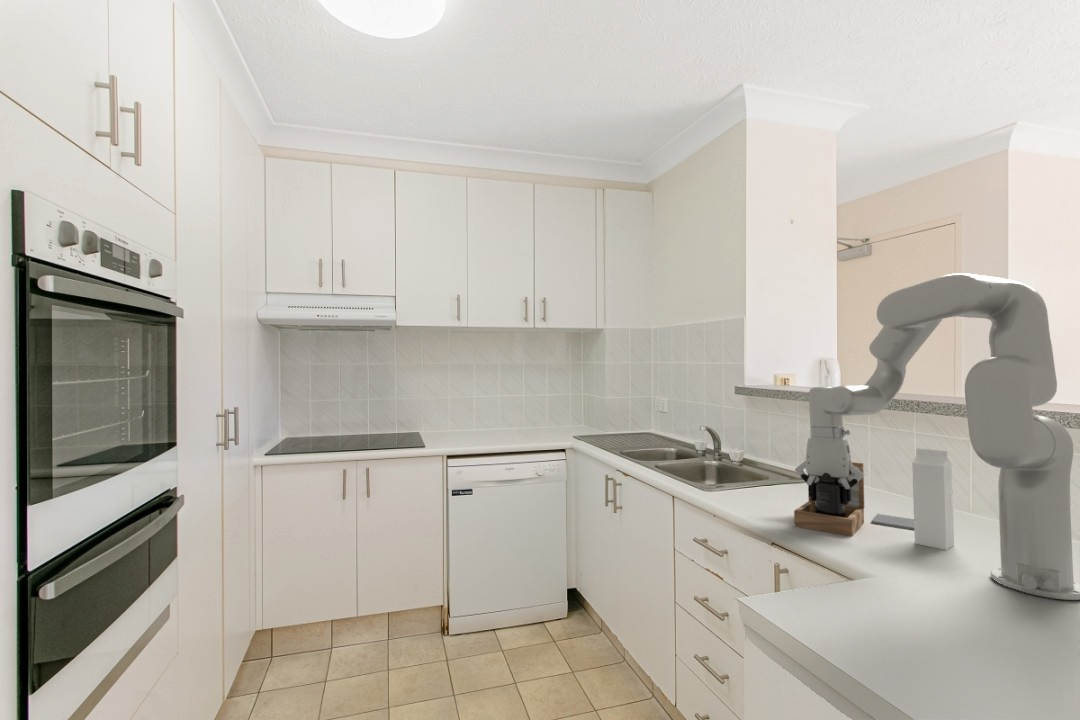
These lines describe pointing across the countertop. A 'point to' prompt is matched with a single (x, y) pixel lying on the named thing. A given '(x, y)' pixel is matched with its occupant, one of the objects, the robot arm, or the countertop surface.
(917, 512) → the milk
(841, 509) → the supplement bottle
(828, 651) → the countertop surface
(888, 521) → the slate tile
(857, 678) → the countertop surface
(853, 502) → the box
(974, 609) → the countertop surface
